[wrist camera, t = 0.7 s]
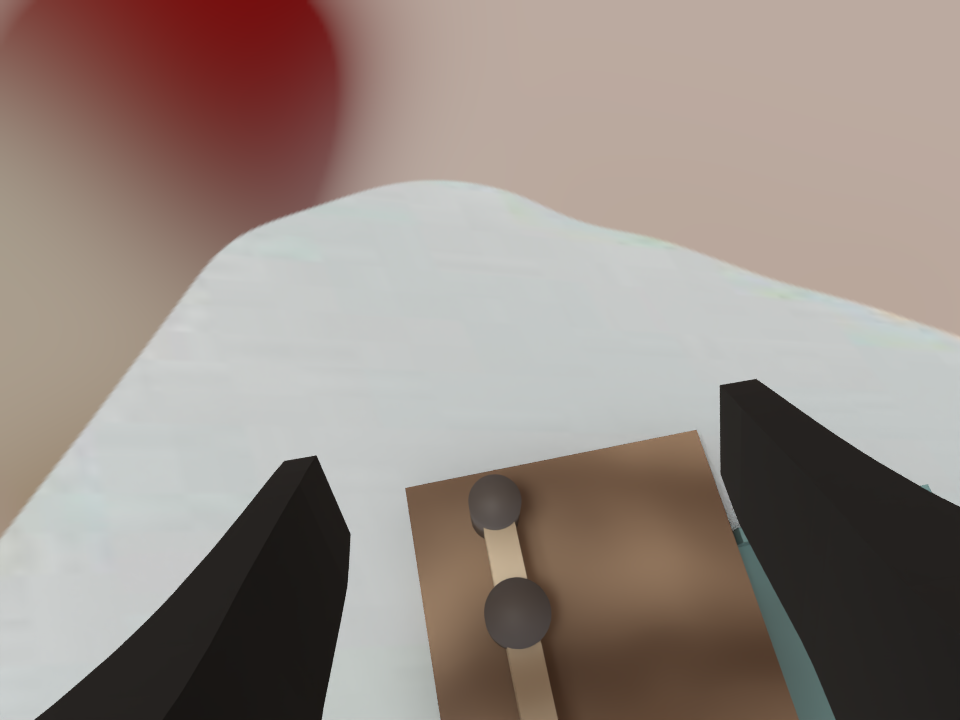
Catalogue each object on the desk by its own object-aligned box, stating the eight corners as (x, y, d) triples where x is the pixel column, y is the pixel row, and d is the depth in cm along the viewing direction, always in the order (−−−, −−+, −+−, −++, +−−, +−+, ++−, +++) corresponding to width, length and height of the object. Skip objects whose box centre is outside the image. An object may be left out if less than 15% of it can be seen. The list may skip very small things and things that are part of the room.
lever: (616, 927, 22) (633, 963, 19) (546, 944, 22) (553, 984, 19) (517, 488, 28) (520, 468, 26) (462, 499, 28) (458, 480, 25)
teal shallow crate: (1062, 887, 24) (1140, 918, 21) (862, 938, 24) (915, 976, 21) (885, 502, 30) (927, 484, 27) (723, 536, 29) (748, 522, 27)
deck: (847, 919, 24) (877, 940, 22) (489, 1009, 23) (489, 1038, 21) (684, 443, 31) (696, 430, 29) (410, 498, 30) (405, 488, 29)
